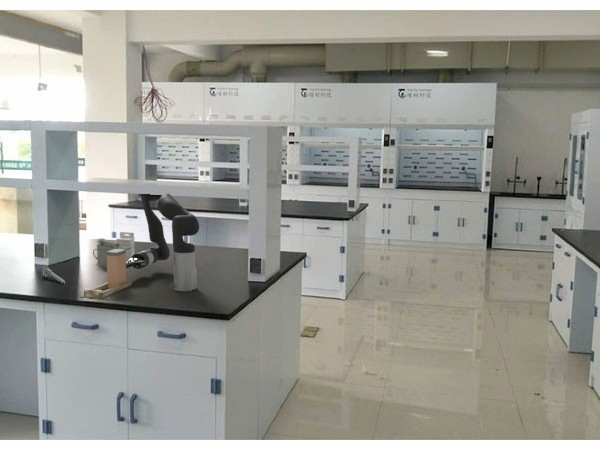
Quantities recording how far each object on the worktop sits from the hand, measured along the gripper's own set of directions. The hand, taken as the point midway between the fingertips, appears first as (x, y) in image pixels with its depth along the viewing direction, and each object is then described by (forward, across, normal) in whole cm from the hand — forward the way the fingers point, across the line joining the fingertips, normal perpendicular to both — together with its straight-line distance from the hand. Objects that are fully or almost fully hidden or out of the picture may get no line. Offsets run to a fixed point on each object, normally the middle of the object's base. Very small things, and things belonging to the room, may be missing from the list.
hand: (123, 266), depth 270 cm
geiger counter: (-34, -30, +9) cm, 46 cm away
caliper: (0, -36, +10) cm, 37 cm away
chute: (+12, 0, +9) cm, 15 cm away
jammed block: (+5, 0, +8) cm, 10 cm away
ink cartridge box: (-53, -30, +9) cm, 62 cm away
